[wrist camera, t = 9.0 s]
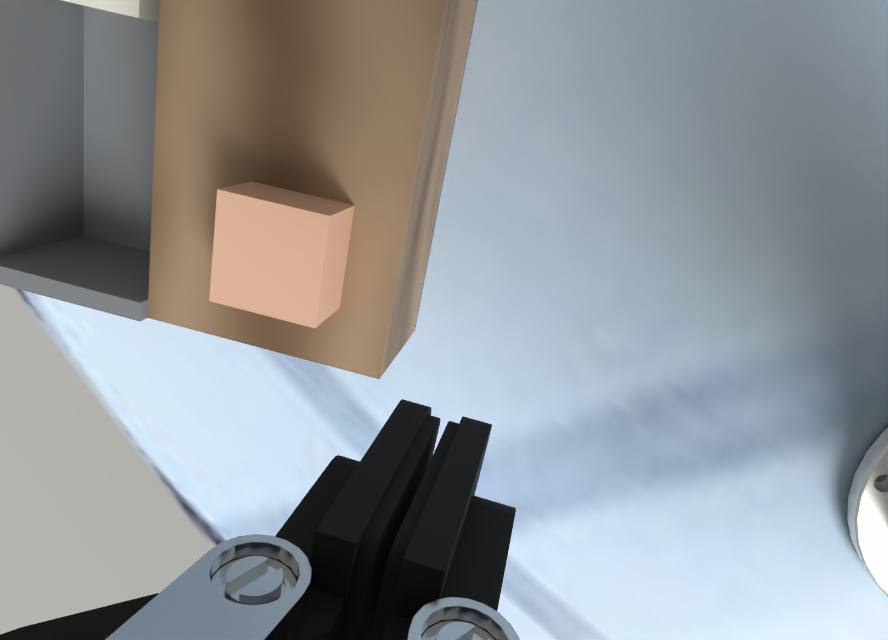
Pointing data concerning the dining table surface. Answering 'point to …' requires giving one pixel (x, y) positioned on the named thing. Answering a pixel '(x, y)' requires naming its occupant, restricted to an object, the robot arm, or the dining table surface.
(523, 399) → the dining table surface
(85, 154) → the box
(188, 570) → the robot arm
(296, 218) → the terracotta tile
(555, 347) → the dining table surface
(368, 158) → the bench plate
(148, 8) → the cream block
